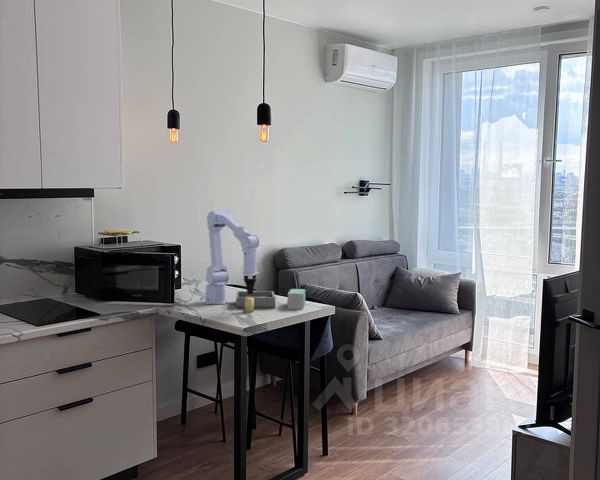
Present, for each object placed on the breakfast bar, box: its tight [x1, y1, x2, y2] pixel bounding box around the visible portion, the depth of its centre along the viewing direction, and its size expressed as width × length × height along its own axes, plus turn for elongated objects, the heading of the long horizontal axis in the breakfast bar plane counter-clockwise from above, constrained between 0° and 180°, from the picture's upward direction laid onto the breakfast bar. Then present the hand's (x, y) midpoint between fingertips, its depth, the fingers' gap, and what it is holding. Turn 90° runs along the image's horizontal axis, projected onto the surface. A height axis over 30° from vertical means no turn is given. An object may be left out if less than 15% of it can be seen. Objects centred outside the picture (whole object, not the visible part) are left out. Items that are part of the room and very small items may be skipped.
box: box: [286, 288, 306, 310], centre depth 286 cm, size 7×14×8 cm, turn 175°
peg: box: [244, 298, 255, 314], centre depth 272 cm, size 4×4×6 cm
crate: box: [235, 290, 276, 309], centre depth 288 cm, size 18×16×5 cm
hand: (250, 292), depth 272 cm, fingers open, 7 cm apart
